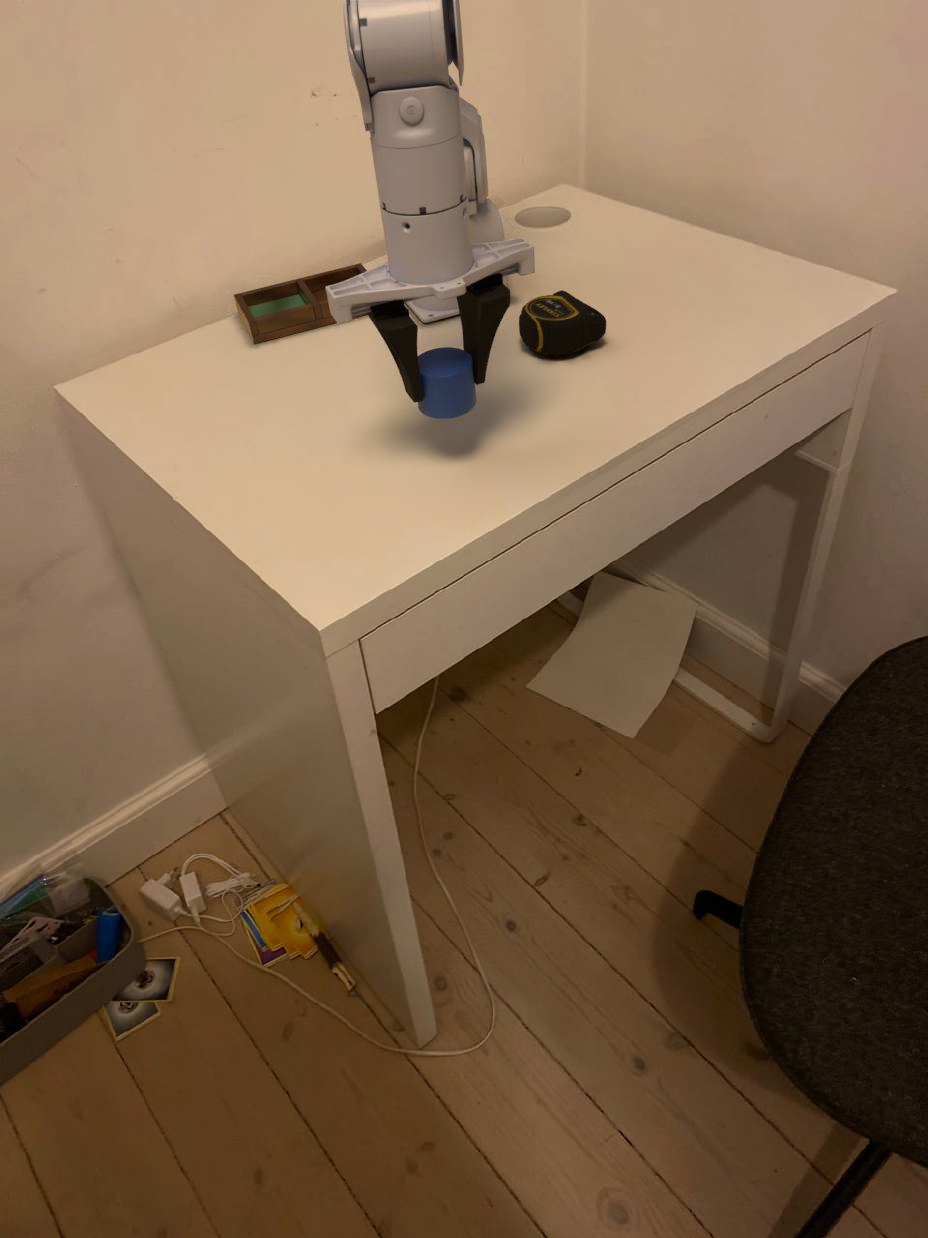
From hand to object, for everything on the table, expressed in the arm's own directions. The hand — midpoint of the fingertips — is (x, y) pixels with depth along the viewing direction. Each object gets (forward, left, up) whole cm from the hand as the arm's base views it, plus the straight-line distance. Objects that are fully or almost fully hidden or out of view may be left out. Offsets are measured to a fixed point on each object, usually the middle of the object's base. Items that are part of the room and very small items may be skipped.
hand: (444, 386), depth 69 cm
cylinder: (0, 0, -1) cm, 1 cm away
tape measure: (-16, -13, -7) cm, 22 cm away
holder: (+3, -32, -6) cm, 33 cm away
